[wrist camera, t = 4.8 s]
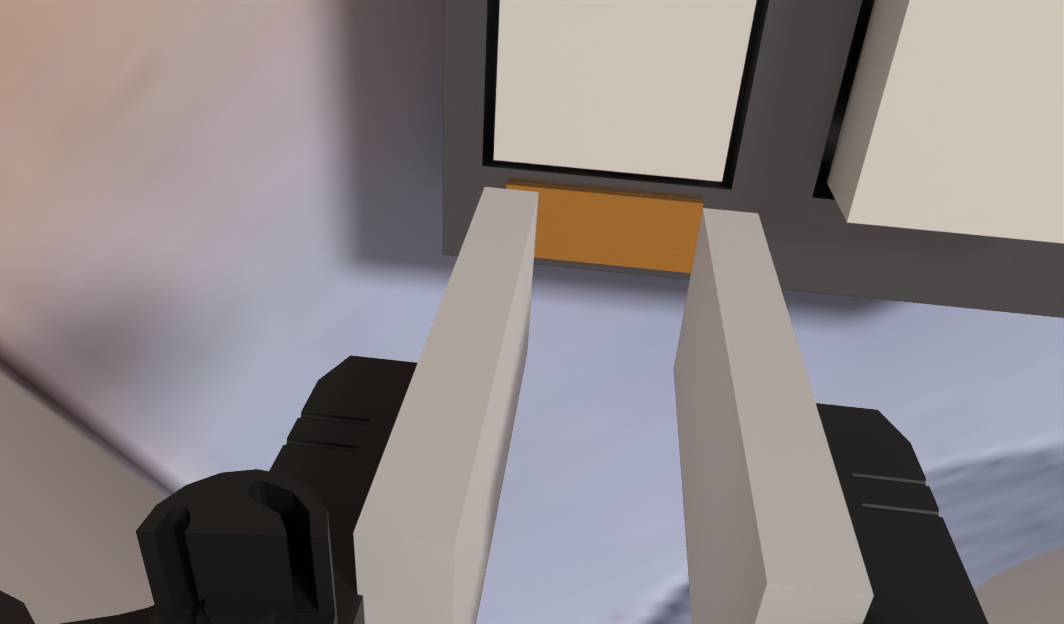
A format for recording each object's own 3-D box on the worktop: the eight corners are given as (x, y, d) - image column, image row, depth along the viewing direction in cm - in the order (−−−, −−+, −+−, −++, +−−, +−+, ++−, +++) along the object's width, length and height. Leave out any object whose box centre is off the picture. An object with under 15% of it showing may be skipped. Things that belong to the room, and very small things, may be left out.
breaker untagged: (890, -63, 22) (922, -46, 20) (1162, -41, 22) (1229, -21, 19) (827, 182, 25) (846, 222, 23) (1059, 204, 25) (1104, 247, 23)
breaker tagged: (516, -101, 24) (503, -90, 22) (755, -82, 24) (769, -69, 21) (505, 128, 28) (493, 159, 25) (713, 148, 27) (721, 181, 25)
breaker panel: (478, -251, 25) (443, -262, 20) (1190, -202, 24) (1322, -202, 19) (468, 193, 32) (441, 259, 27) (1010, 246, 31) (1075, 323, 26)
